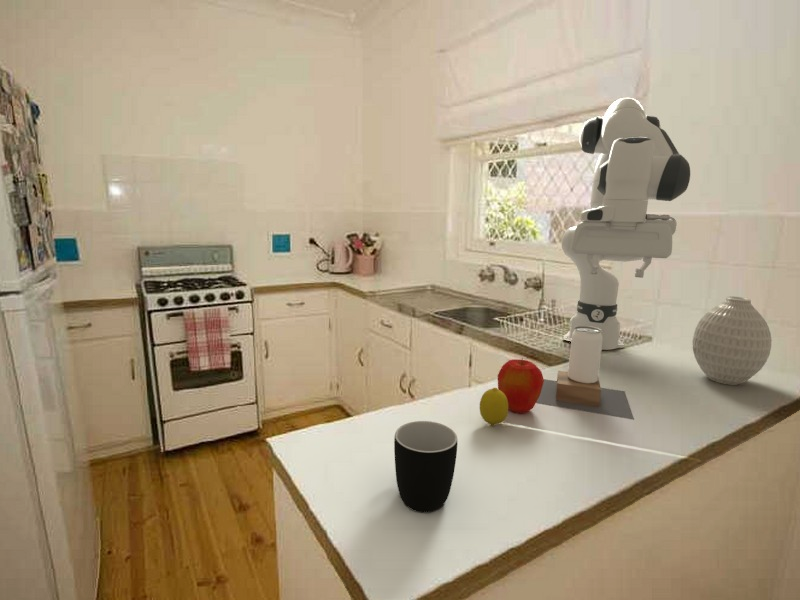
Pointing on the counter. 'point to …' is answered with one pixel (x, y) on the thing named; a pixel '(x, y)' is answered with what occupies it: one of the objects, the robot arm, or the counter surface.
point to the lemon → (493, 406)
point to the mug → (424, 464)
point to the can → (585, 355)
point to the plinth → (577, 391)
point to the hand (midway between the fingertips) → (615, 275)
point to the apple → (520, 384)
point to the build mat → (608, 405)
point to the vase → (732, 341)
